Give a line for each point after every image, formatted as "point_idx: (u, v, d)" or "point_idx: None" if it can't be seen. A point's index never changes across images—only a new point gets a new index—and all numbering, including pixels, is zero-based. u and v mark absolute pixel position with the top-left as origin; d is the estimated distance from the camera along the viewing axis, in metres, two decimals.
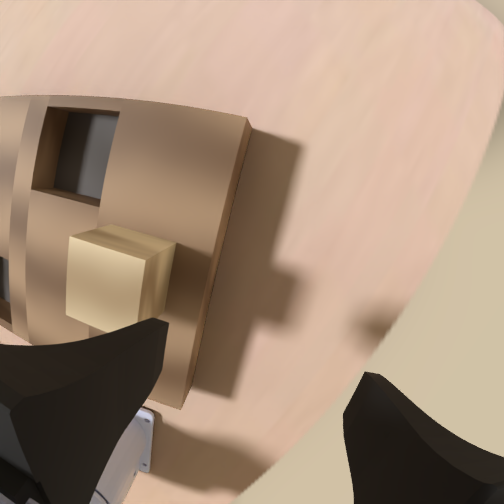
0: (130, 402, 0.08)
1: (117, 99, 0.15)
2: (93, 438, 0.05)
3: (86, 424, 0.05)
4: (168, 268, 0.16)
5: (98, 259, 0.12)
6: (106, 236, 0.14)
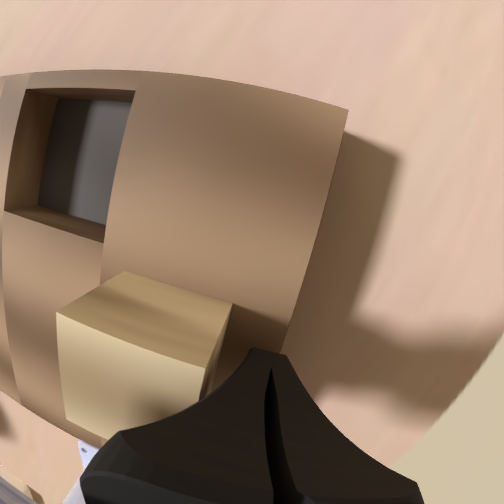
0: None
1: (131, 72, 0.09)
2: None
3: None
4: (221, 344, 0.10)
5: (113, 358, 0.07)
6: (120, 305, 0.08)
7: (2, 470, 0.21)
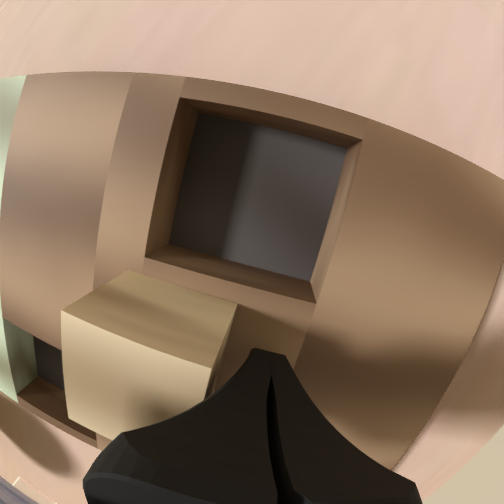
0: None
1: (354, 116, 0.09)
2: None
3: None
4: (225, 344, 0.10)
5: (118, 357, 0.07)
6: (125, 304, 0.08)
7: (48, 501, 0.21)
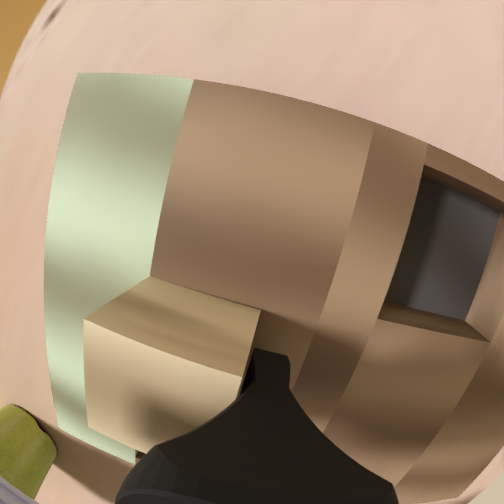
0: None
1: None
2: None
3: None
4: None
5: (144, 366, 0.07)
6: (149, 311, 0.08)
7: None
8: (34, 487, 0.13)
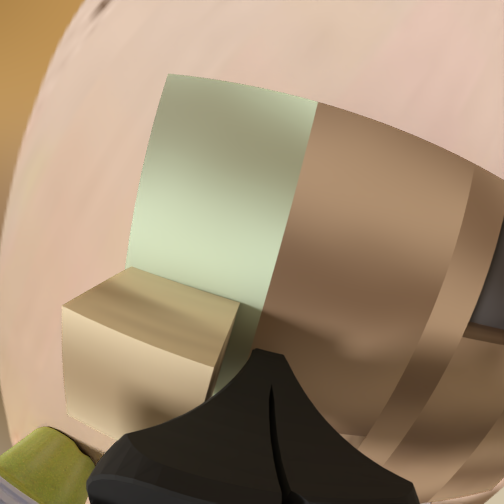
0: None
1: None
2: None
3: None
4: (227, 343, 0.10)
5: (119, 354, 0.07)
6: (127, 300, 0.08)
7: None
8: None
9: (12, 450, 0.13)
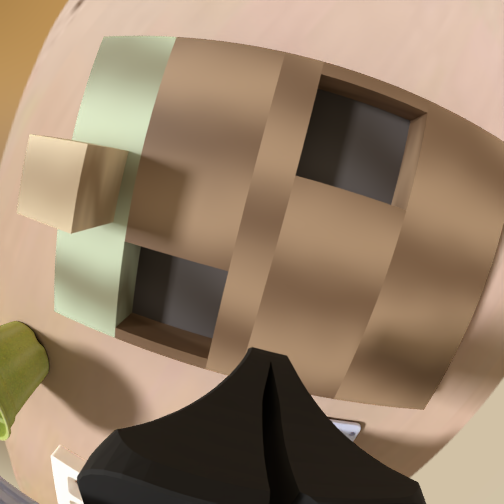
0: None
1: (422, 99, 0.13)
2: None
3: None
4: (118, 174, 0.15)
5: (49, 150, 0.12)
6: None
7: None
8: (23, 391, 0.18)
9: None
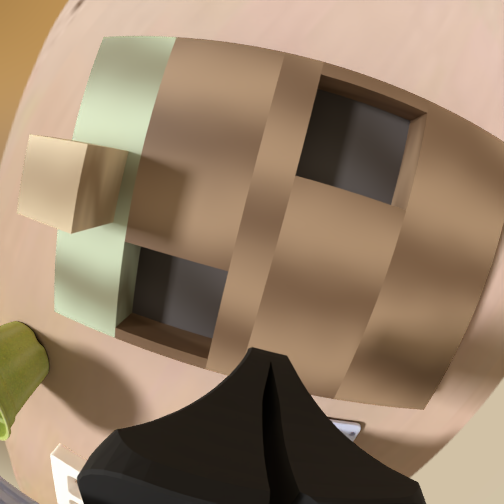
0: None
1: (422, 99, 0.13)
2: None
3: None
4: (118, 174, 0.15)
5: (50, 150, 0.12)
6: (63, 139, 0.13)
7: None
8: (23, 391, 0.18)
9: None
